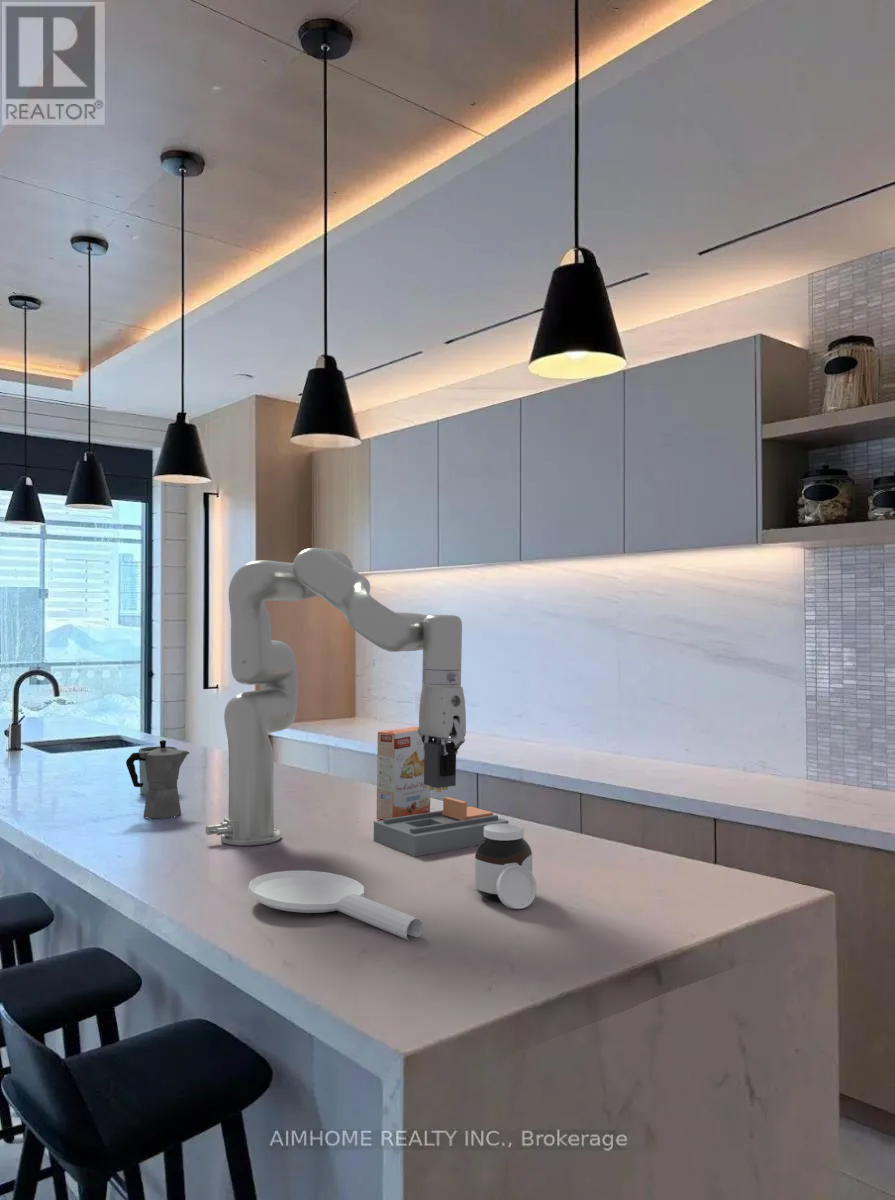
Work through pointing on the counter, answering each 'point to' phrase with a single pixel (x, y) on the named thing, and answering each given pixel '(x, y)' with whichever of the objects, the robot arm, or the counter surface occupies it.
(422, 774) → the cracker box
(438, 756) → the plug
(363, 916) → the frying pan
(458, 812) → the tan l-shaped bracket
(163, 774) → the coffeepot
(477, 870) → the spread jar
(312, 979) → the counter surface
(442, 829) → the socket block
